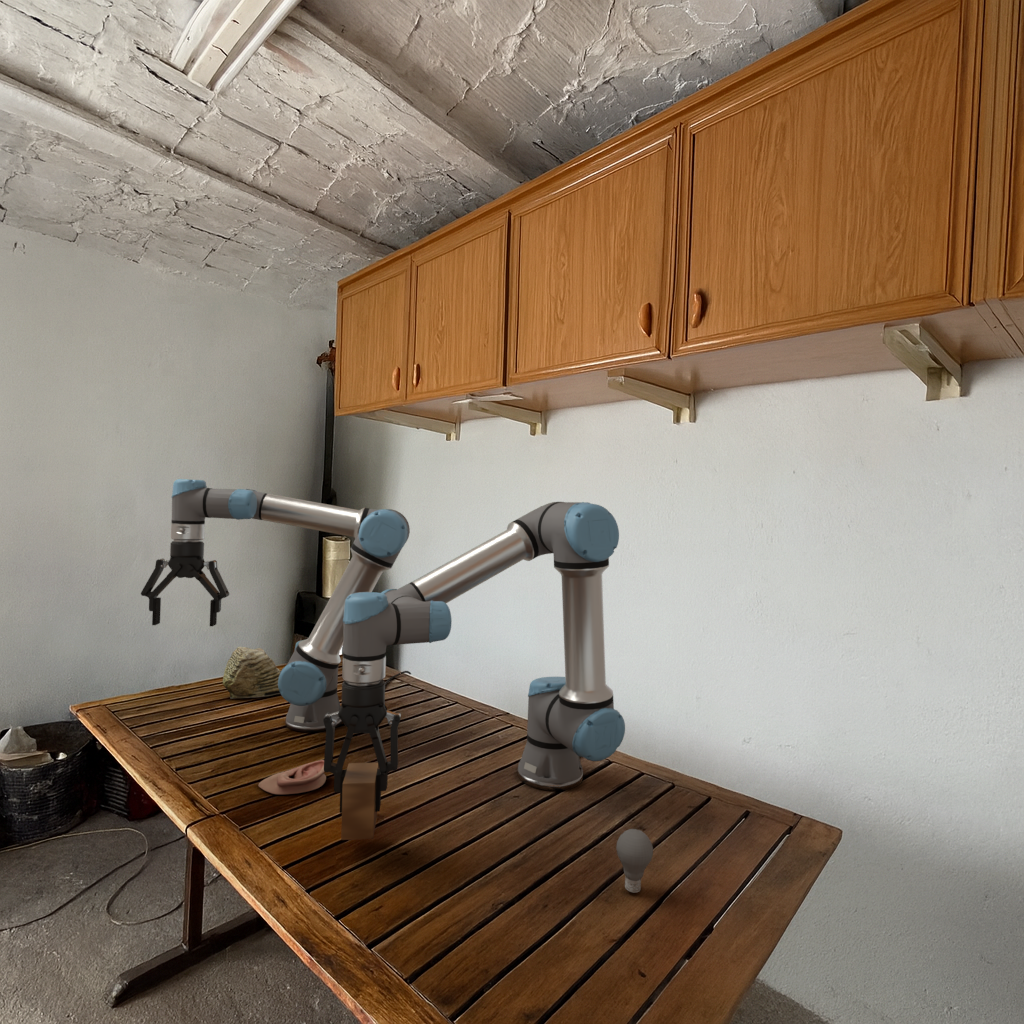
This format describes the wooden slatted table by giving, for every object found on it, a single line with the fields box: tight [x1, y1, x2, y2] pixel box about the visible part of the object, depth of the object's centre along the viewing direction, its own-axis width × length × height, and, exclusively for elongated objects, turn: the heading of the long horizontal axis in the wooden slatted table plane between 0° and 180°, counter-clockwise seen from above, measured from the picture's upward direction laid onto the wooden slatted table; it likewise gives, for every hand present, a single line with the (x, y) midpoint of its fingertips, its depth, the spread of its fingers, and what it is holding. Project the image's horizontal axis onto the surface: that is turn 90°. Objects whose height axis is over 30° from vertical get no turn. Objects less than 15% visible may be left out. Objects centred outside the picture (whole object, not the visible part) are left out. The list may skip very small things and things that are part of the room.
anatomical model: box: [257, 759, 327, 795], centre depth 139 cm, size 13×4×12 cm
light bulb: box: [615, 828, 654, 894], centre depth 106 cm, size 6×6×10 cm
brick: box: [340, 762, 379, 841], centre depth 114 cm, size 5×8×10 cm, turn 8°
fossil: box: [222, 646, 281, 699], centre depth 198 cm, size 9×18×15 cm, turn 132°
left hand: (184, 624), depth 159 cm, fingers open, 13 cm apart
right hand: (360, 808), depth 114 cm, fingers closed on brick, 5 cm apart
